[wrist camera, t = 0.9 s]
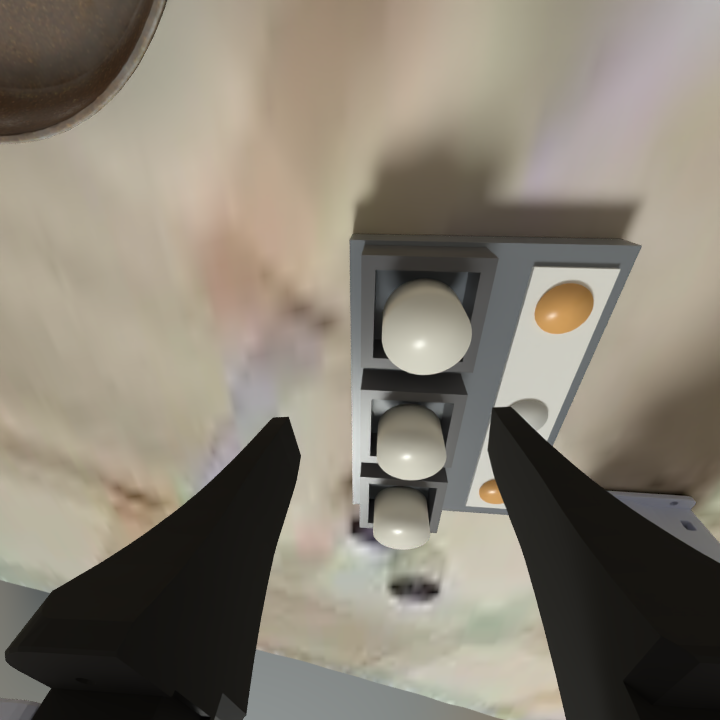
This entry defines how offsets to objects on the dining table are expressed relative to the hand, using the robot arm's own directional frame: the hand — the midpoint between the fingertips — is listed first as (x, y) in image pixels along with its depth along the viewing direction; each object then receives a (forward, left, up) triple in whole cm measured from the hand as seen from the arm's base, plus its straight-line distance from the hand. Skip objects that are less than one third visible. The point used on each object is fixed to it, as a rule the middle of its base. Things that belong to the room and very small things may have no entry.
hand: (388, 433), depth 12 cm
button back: (-1, +12, -5) cm, 13 cm away
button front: (-1, -2, -5) cm, 6 cm away
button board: (-4, +5, -9) cm, 11 cm away
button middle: (-1, +5, -5) cm, 7 cm away
